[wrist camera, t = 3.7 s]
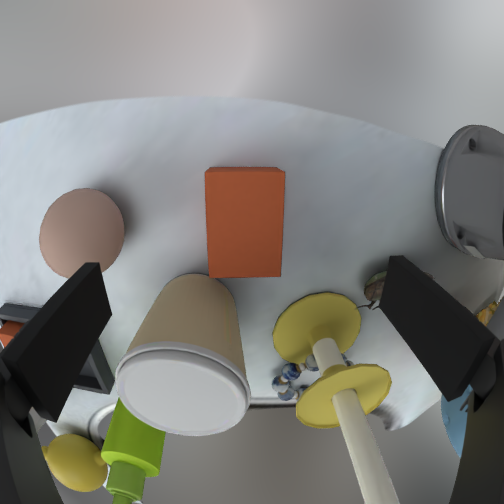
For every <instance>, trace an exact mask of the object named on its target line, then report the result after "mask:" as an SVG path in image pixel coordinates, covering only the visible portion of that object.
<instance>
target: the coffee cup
mask: <svg viewBox="0 0 504 504" xmlns="http://www.w3.org/2000/svg"><path fill="white" fill-rule="evenodd" d="M115 382H116V387H117V392H118V395H119V398H120V400H121V401H122V403H123V404H124V406H125V407H126V408H127V409H128V410H129V411H130V412H131V413H132V414H133V415H134V416H135V417H137V418H138V419H140V420H141V421H143V422H144V423H146V424H148V425H150V426H152V427H154V428H157V429H159V430H162V431H165V432H169V433H173V434H178V435H186V436H205V435H211V434H216V433H220V432H223V431H225V430H227V429H229V428H231V427H233V426H234V425H236V424H237V423H238V422H239V421H240V420H241V419H242V418H243V416H244V414H245V412H246V410H247V409H248V407H249V404H250V399H251V392H250V387H249V384H248V381H247V379H246V370H245V363H244V356H243V350H242V344H241V337H240V331H239V324H238V317H237V311H236V306H235V302H234V299H233V297H232V295H231V293H230V291H229V290H228V289H227V288H226V287H225V286H224V285H223V284H222V283H221V282H220V281H218V280H216V279H215V278H209V276H207V275H203V274H185V275H181V276H179V277H176V278H174V279H173V280H171V281H170V282H169V283H167V284H166V285H165V287H164V288H163V290H162V291H161V292H160V294H159V295H158V297H157V299H156V300H155V302H154V304H153V305H152V307H151V309H150V310H149V312H148V314H147V316H146V317H145V319H144V321H143V323H142V324H141V326H140V328H139V330H138V331H137V333H136V335H135V337H134V339H133V341H132V342H131V344H130V346H129V348H128V350H127V352H126V354H125V355H124V356H123V357H122V359H121V360H120V362H119V363H118V366H117V368H116V373H115Z"/></svg>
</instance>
